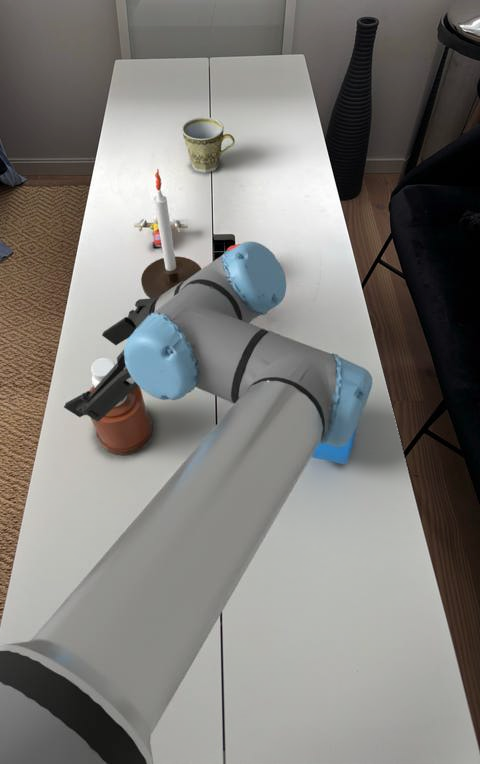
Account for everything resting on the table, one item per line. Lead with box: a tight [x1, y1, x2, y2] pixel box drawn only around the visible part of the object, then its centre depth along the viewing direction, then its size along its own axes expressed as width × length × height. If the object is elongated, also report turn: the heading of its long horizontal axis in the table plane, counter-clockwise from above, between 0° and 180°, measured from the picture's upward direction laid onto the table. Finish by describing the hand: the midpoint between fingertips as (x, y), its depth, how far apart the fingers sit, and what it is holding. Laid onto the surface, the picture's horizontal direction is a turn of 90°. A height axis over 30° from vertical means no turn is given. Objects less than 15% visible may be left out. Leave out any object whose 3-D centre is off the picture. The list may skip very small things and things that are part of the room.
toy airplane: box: [133, 214, 188, 249], centre depth 121 cm, size 9×9×6 cm
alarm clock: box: [311, 425, 358, 465], centre depth 86 cm, size 13×6×15 cm, turn 165°
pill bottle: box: [90, 357, 127, 407], centre depth 82 cm, size 4×4×8 cm
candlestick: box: [140, 168, 202, 299], centre depth 93 cm, size 11×11×35 cm
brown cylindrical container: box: [89, 385, 154, 456], centre depth 90 cm, size 9×9×11 cm
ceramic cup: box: [181, 116, 236, 174], centre depth 135 cm, size 13×10×10 cm
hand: (92, 372), depth 81 cm, fingers open, 13 cm apart
